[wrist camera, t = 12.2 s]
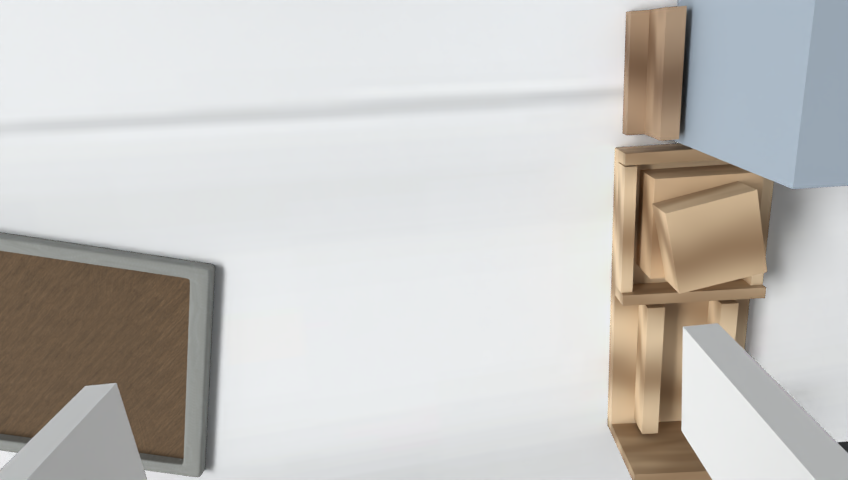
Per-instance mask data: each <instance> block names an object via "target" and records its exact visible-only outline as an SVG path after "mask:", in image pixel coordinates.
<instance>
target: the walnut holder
mask: <svg viewBox="0 0 848 480" xmlns="http://www.w3.org/2000/svg"><path fill="white" fill-rule="evenodd" d="M686 11H687V6H677V7H665V8H659V9H652V10H642V11H630V12H626V36H625V69H624V102H623V134H625V135H637V134H646V135H648V136H650V137H653V138H655V139H657V140H660V141H662V140H677V139H679V130H680V113H681V96H682V79H683V62H684V45H685V28H686Z"/></svg>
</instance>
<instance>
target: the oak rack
mask: <svg viewBox="0 0 848 480" xmlns="http://www.w3.org/2000/svg"><path fill="white" fill-rule="evenodd" d="M724 164H730V163H727V162H725V161H722V160H720V159H717V158H715V157H713V156H710V155H708V154H705V153H703V152H700V151H698V150H695V149H693V148H690V147H688V146H686V145H683V144H681V143H679V144H664V145H649V146H634V147H619V148H615V168H614V205H613V243H612V280H611V318H610V356H609V393H608V427H609V429H610V431H611V434H612V436H613V438H614V440H615V443H616V445H617V447H618V449H619V451H620V454H621V456H622V458H623V460H624V462H625V465H626V467H627V469H628V471H629V473H630V476H631V478H632V480H712V478H711V477H710V475H709V474H708V472H707V471H706V469H705V467H704V466H703V464H702V463H701V461H700V459H699V458H698V456H697V455H696V453H695V452H694V450H693V448H692V447H691V445H690V444H689V442H688V441H687V439H686V437H685V436H684V434H683V433H682V431H681V426H682V351H683V327H684V326H694V325H704V324H714V323H718V324H719V325H720V326H721V327H722V328H723V329H724V330H725V331H726V332H727V333H728V334H729V335H730V336H731V337H732V338H733V339H734V340H735V341H736V342H737V343H738V344H739V345H740V346H741V347H742V348H743V349H745V340H746V330H747V320H748V310H749V301H750V299H754V298H765V292H766V287H765V286H763V285H762V284H763V275H764V273H761V274H757V275H753V276H749V277H745V278H741V279H737V280H733V281H729V282H725V283H721V284H717V285H713V286H709V287H705V288H701V289H697V290H693V291H689V292H685V293H681V294H679V293H678V292H677V291H676V290H675V289H674V288H673V287H672V286H671V285H670V284H669V283H668V282H667V281H666V280H665V278H655V279H650V278H649V277H648V276H647V275H646V274H645V273H644V271H643V270H642V269H641V268H640V267H639V266H638V265H637V264H636V261H637V236H638V211H639V186H640V170H648V169H663V168H678V167H694V166H709V165H724ZM773 183H774V181H772V180H769V179H767V178H764V179H763V188H762V198H761V207H760V217H761V225H762V233H763V241H764V249H765V256H766V247H767V238H768V229H769V220H770V211H771V201H772V192H773Z"/></svg>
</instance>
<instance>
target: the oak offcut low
mask: <svg viewBox="0 0 848 480" xmlns="http://www.w3.org/2000/svg"><path fill="white" fill-rule="evenodd" d="M763 179H764V177H762V176H759V175H757V174H754V173H752V172H749V171H747V170H745V169H742V168H740V167H737V166H735V165H732V164H724V165H709V166H694V167H678V168H663V169H648V170H640V186H639V211H638V236H637V261H636V264H637V265H638V266H639V267H640V268H641V269H642V270H643V271H644V273H645V274H646V275H647V276H648V277H649V278H650V279H655V278H665V274H664V268H663V263H662V257H661V252H660V246H659V240H658V235H657V229H656V224H655V218H654V212H653V207H652V203H656V202H660V201H664V200H668V199H671V198H675V197H679V196H683V195H686V194H690V193H694V192H698V191H702V190H705V189H709V188H713V187H717V186H721V185H724V184H728V183H732V182H736V181H739V182H741V183H743V184H746V185H748V186H750V187H752V188H754V189H757V192H758V201H759V209H760V207H761V198H762V188H763Z"/></svg>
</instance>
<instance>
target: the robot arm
mask: <svg viewBox="0 0 848 480" xmlns="http://www.w3.org/2000/svg"><path fill="white" fill-rule="evenodd" d="M681 431H682V433H683V434H684V436H685V437H686V439H687V441H688V442H689V444H690V445H691V447H692V448H693V450H694V452H695V453H696V455H697V456H698V458H699V459H700V461H701V463H702V464H703V466H704V467H705V469H706V471H707V472H708V474H709V475H710V477H711V478H712V480H848V442H836V441H835V440H834V439H833V438H832V437H831V436H830V435H829V434H828V433H827V432H826V431H825V430H824V429H823V428H822V427H821V426H820V425H819V424H818V423H817V422H816V421H815V420H814V419H813V418H812V417H811V416H810V415H809V414H808V413H807V412H806V411H805V410H804V409H803V408H802V407H801V406H800V405H799V404H798V403H797V402H796V401H795V400H794V399H793V398H792V397H791V396H790V395H789V394H788V393H787V392H786V391H785V390H784V389H783V388H782V387H781V386H780V385H779V384H778V383H777V382H776V381H775V380H774V379H773V378H772V377H771V376H770V375H769V374H768V373H767V372H766V371H765V370H764V369H763V368H762V367H761V366H760V365H759V364H758V363H757V362H756V361H755V360H754V359H753V358H752V357H751V356H750V355H749V354H748V353H747V352H746V351H745V350H744V349H743V348H742V347H741V346H740V345H739V344H738V343H737V342H736V341H735V340H734V339H733V338H732V337H731V336H730V335H729V334H728V333H727V332H726V331H725V330H724V329H723V328H722V327H721V326H720V325H719V324H718V323H714V324H704V325H694V326H684V327H683V351H682V426H681ZM0 480H147V477H146V474H145V471H144V468H143V465H142V462H141V458H140V455H139V452H138V449H137V446H136V443H135V439H134V436H133V433H132V430H131V427H130V424H129V421H128V417H127V414H126V411H125V408H124V405H123V402H122V398H121V395H120V392H119V389H118V386H117V383H110V384H100V385H90V386H85V387H84V388H83V389H82V390H81V391H80V392H79V393H78V394H77V395H76V396H75V397H74V398H73V399H72V400H71V401H70V402H68V403H67V404H66V405H65V406H64V407H63V408H62V409H61V410H60V411H59V412H58V413H57V414H56V415H55V416H54V417H53V418H52V419H51V420H50V421H49V422H48V423H47V424H46V425H45V426H44V427H43V428H42V429H41V430H40V431H39V432H38V433H37V434H36V435H35V436H34V437H33V438H32V439H31V440H30V441H29V442H28V443H27V444H26V445H25V446H24V447H23V448H22V449H21V450H20V451H19V452H18V453H17V454H16V455H15V456H14V457H13V458H12V459H11V460H10V461H9V462H8V463H7V464H6V465H5V466H4V467H3V468H2V469H1V470H0Z"/></svg>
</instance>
